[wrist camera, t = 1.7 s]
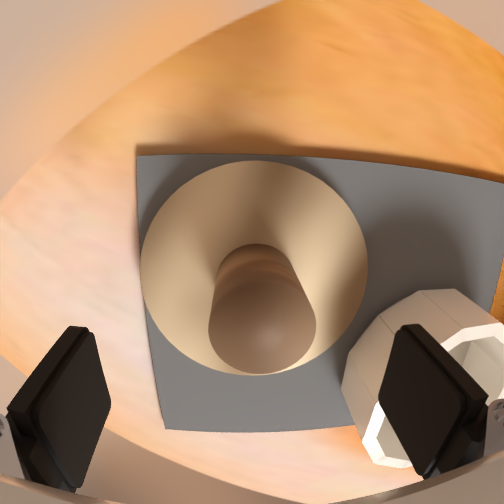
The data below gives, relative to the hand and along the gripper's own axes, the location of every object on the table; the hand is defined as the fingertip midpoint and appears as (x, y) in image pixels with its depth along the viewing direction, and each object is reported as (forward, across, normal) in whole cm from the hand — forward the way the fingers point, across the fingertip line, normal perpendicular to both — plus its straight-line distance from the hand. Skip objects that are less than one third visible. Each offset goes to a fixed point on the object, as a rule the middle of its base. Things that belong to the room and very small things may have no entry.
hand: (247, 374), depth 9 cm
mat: (+9, -7, +3) cm, 12 cm away
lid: (+9, -1, 0) cm, 9 cm away
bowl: (+8, -12, +6) cm, 16 cm away
